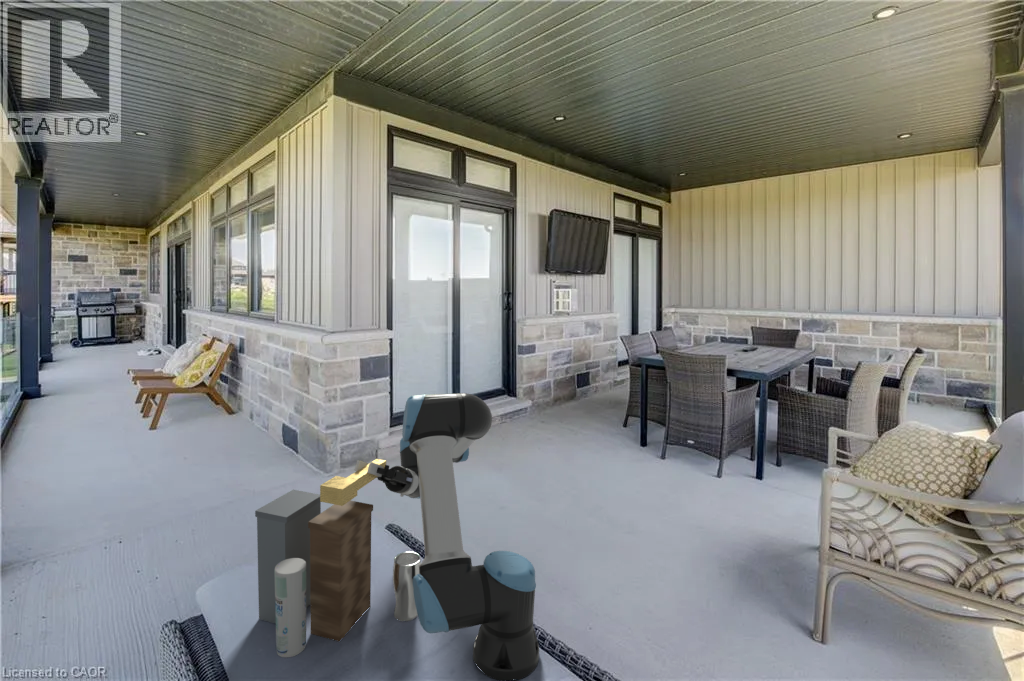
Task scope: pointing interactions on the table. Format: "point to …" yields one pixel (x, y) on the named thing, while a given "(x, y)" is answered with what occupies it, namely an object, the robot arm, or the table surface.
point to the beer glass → (405, 585)
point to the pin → (346, 485)
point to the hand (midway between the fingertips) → (363, 466)
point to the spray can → (290, 606)
